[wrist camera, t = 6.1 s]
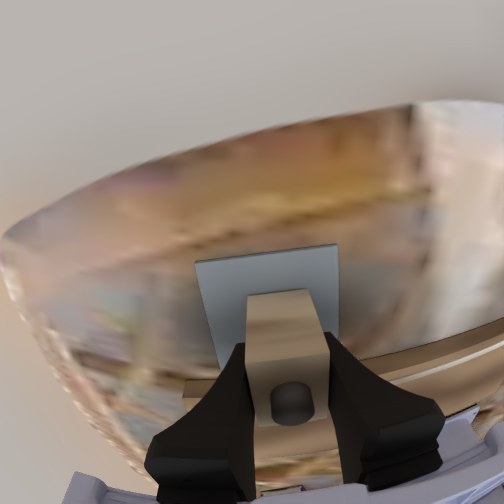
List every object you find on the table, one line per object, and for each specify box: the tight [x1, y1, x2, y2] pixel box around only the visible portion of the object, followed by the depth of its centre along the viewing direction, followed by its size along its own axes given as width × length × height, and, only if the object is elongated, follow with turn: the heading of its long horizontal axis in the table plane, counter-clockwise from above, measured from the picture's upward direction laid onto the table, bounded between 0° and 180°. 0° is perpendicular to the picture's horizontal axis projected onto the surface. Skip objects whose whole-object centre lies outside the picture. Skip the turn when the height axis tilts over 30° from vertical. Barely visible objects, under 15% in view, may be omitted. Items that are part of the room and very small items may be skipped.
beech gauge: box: [245, 289, 330, 427], centre depth 12 cm, size 4×3×6 cm
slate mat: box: [194, 244, 339, 371], centre depth 15 cm, size 7×7×1 cm
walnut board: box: [182, 318, 504, 459], centre depth 17 cm, size 8×26×2 cm, turn 98°
